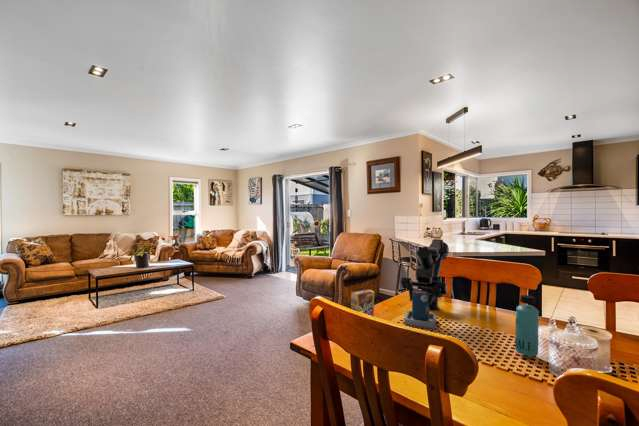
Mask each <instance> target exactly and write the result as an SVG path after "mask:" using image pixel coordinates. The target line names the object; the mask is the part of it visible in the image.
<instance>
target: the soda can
mask: <svg viewBox="0 0 639 426" xmlns="http://www.w3.org/2000/svg"><path fill="white" fill-rule="evenodd" d="M411 302H412V306H411V308H412V310H411V311H412V317H413V319H414V320H421V321H428V320H429V313H430V310H429V295H428V292H427V291H423V290H420V289H416V290H414V292H413V295H412V301H411Z"/></svg>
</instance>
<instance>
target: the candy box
mask: <svg viewBox="0 0 639 426" xmlns="http://www.w3.org/2000/svg"><path fill="white" fill-rule="evenodd" d="M350 293H351V297H350V310H351V309H353V310H356V311H363V313H365V314H368V315H371V316H373V317H374V314H375V311H374V309H375V291H374V290H371V289H362V290H358V291H357V290H356V291H351V292H350Z"/></svg>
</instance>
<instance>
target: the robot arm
mask: <svg viewBox="0 0 639 426" xmlns="http://www.w3.org/2000/svg"><path fill="white" fill-rule="evenodd" d="M449 252H450V248H449V245H448V244H447V243H446V242H444V239H437V238H433V239H432V241H431V243H430V244H429V246H422V248H420V249H418V250H417V252H416V255H417V259H418V262H419V264H420V267H419V268H417V267H416V269H415V280H412V277H406V276H402V277H401V279H400V283H401V287H402V288H403V289H405V290H407V291H408V294H409V301H410V302H412V295H413V293H414V291H415V290H414V287H418V288H419V287H420V288H421V290H423V291H427V292H428V295H429V311H439V308H440V307H439V299H441V298H443V295H444V296H445V295H447V293H448V286H447V283H446V282H445V281H440V279H439V276H440V273H441V268H442V265H443V261H444V260H446V259H447V257H448V255H449V254H450V253H449Z"/></svg>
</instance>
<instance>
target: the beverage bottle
mask: <svg viewBox="0 0 639 426" xmlns="http://www.w3.org/2000/svg"><path fill="white" fill-rule="evenodd" d="M519 301H520V303H522V304H519V305H517V306H516V308H515V309H516V311H515V312H516V313H515V324H514V325H515V331H514V333H515V337H514V342H515V343H514V347H515V348H514V349H515V351H516V352H517V353H519V354H521V355H524V356H528V357H537V356H538V355H539V321H540V320H539V318H540V315H539V314H540V311H539V309H538V308H536V307H535V306H534V305H535V304H536V298H535V296H532V295H529V294H528V295H527V294H522V295H520V299H519Z"/></svg>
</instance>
